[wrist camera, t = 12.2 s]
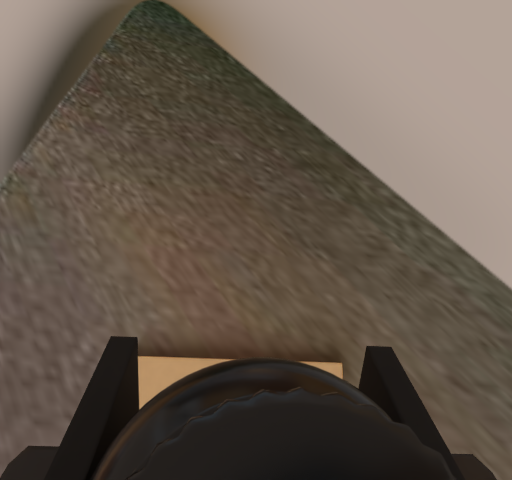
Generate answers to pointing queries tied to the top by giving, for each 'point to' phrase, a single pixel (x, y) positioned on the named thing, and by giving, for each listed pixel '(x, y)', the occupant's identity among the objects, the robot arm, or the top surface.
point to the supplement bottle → (266, 430)
